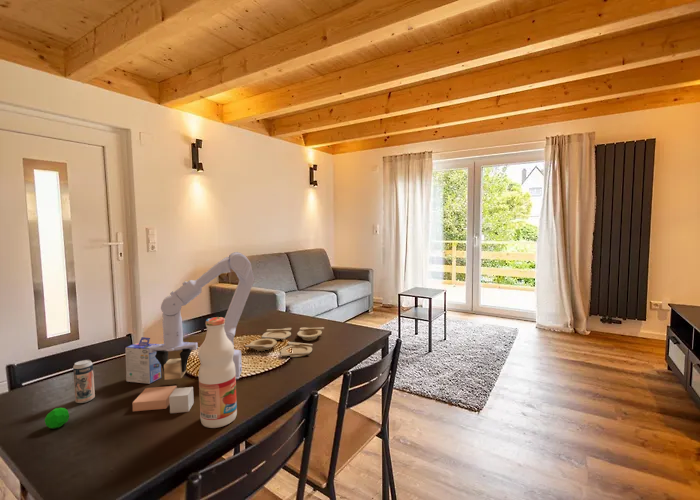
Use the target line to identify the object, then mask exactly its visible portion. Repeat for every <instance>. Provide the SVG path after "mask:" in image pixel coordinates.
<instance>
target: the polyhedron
mask: <svg viewBox="0 0 700 500" xmlns="http://www.w3.org/2000/svg"><path fill="white" fill-rule="evenodd" d="M69 419H70V413H69V411H68V409H66V408H65V407H55V408H54V409H53V410H51V411H49V412H48V413H46V416H45V418H44V423H45V426H46V428H49V429H59V428H60V427H62V426H63V425H65V424H66V423H68V421H69Z"/></svg>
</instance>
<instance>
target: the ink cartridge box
mask: <svg viewBox="0 0 700 500" xmlns="http://www.w3.org/2000/svg"><path fill="white" fill-rule="evenodd" d="M144 340H145V341H144ZM150 341H151V337H143V336H142V337H141V338H140V340H139V342H135V343H133V344H130V345H128V346H126V347H125V374H126V375H125V377H126V378H125V381H126V382H127V383H129V382H130V383H140V384H147V385H148V384H149V385H150V384H153V383H154V382H156V381H158V380H160V379H162V366H161V364H160V363H159V361H158V360H157V359H156V357H155V355H156V352H153V353H149V347H150V346H151V345H159V344H160V343H150Z"/></svg>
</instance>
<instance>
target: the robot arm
mask: <svg viewBox="0 0 700 500" xmlns="http://www.w3.org/2000/svg"><path fill="white" fill-rule="evenodd" d="M231 270H232V271H233V272H234V273H235V275H236V276H237V277H236V278H238V282H237V283H238V284H237V286H236V288H235V290H234V293H233V295H232V298H231V301H230V304H229V305H228V309H227V311H226V313H225V316H224V318H225V325H224V330H225V333H226V336H227V337H228V339H229V340H230V341H231V342H232V343H233V345H234V344H235V341H234V340H235V339H234V338H235V335H236V332H237V331H236V330H237V326H238V324H239V321H240V319H241V316H242V313H243V311H244V308H245V306H246V302H247V301H248V298H249V295H250V293H251V290H252V288H253V285H254V282H255V276H254V271H253V269H252V263H251V261H250V259H248V257H247V256H246V255H245V254H244V253H241V252H238V251H235V252H232V253H230V254H229V255H228V256H226V257H223V258H222V259H220V260H219V261H218V262H217V263H215V264H214V265H212V267H211V268H209V269H208V270H207V271H206V272H204V273H203V274H202V275H201V276H199V277H198V278H197V279H195V280H193V279H190V280H187V281H186V280H185V281H183V282H182V286H180V287H179V288H177V289H176V290H175V291H171V292H170V293H169V294H170V295H167V296H166V297H164V299H163V300H162V302H161V304H160V310H161V312H162V321H161V322H162V334H163V337H162V338H163V343H158V344H159V345H151V346H150V347H149V353H153V352H156V355H155V357H156V359H157V360H158V361H159V363H160V364H161V370H162V372H163V373H164V364H165V363H166V362H167V361H168V360H169V352H175V351H181V352H180V353H179V356H180V358H181V363H182V372H185V370H187V364H188V361H189V358H190V355H191V352H192V350H193V351H195V350H196V351H197V349H199V346H198V342H196V341H195V342H193V341H192V342H189V341H184V335H183V333H184V332H183V318H182V315H181V314H182V313H181V310H182V307H183V306H186V305H188V304H189V303H190V302H191V301H193V300H194V299H195V298H196V297H198V296H199V295H201V293H202V292H203V291H202V288H203V287H205V286H206V285H207V284H209V283H210V282H211V281H213V280H215V279H216V278H217V277H219V276H220V275H221V274H228V273H231ZM234 346H235V345H234ZM233 362H234V364H235V370H236V380H239V379H240V376H241V373H242V371H243V369H242V368H243V366H242V363H243V362H242V350H239V349H235V348H234V355H233ZM185 373H186V372H185Z"/></svg>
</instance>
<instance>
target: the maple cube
mask: <svg viewBox="0 0 700 500" xmlns="http://www.w3.org/2000/svg"><path fill="white" fill-rule="evenodd" d="M186 370H187V369H186ZM186 370H185V372H182V363H181V357H180V358H170V359H169V358H168V361H167V362H166V363H165V364H164V372H163V376H164V381H166V380H179V379H182V378H183V377H184V375H185V374H186V372H187V371H186Z"/></svg>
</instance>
